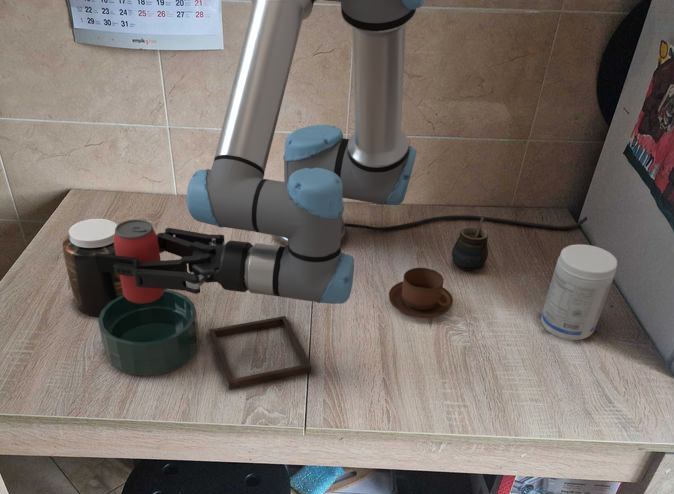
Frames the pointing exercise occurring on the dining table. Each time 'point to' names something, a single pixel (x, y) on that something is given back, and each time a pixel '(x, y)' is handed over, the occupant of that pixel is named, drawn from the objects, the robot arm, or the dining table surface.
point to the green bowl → (150, 333)
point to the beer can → (137, 256)
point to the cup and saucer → (421, 294)
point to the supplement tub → (578, 291)
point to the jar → (91, 265)
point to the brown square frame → (266, 376)
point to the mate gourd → (471, 248)
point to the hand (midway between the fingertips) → (107, 250)
